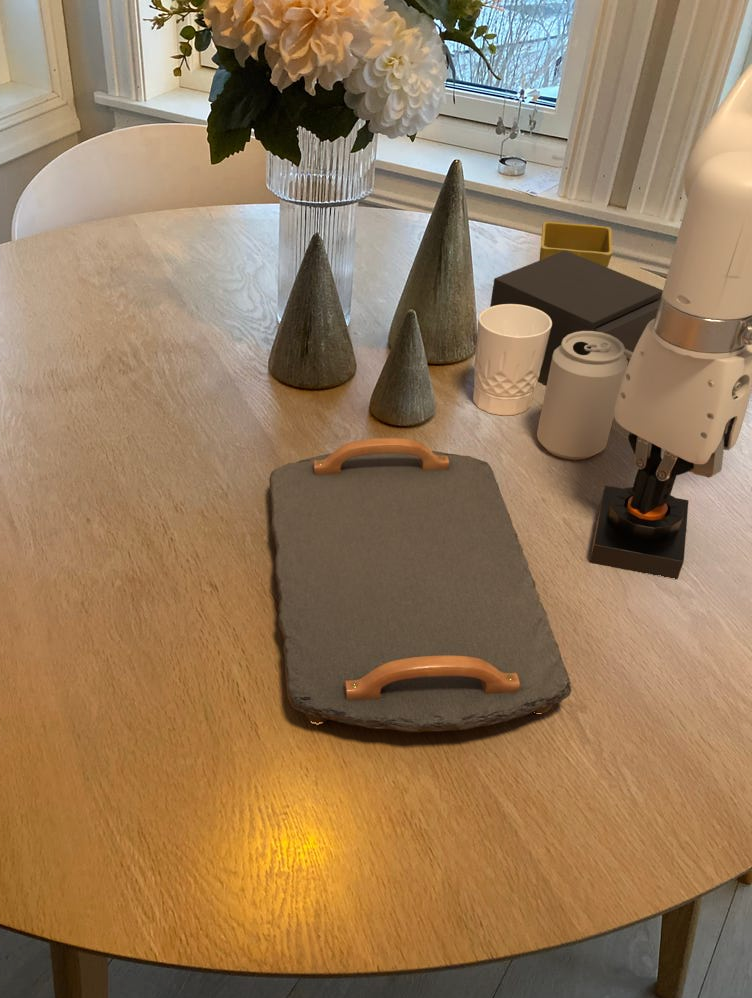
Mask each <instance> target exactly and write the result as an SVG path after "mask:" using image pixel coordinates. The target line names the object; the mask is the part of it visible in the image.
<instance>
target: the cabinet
mask: <svg viewBox="0 0 752 998" xmlns="http://www.w3.org/2000/svg"><path fill="white" fill-rule="evenodd" d="M662 292H663V289H661V288H659V287H656V286H654V285H651V284H649V283H646V282H644V281H641V280H639V279H637V278H634V277H632V276H630V275H626V274H624V273H622V272H619V271H617V270H614V269H612V268H609V267H605V266H602V265H600V264H597V263H595V262H592V261H590V260H587V259H585V258H582V257H580V256H577V255H575V254H573V253H570V252H568V251H562V252H560V253H557V254H555V255H552V256H550V257H547V258H545V259H542V260H540V261H539V260H537V261H534V262H532V263H529V264H527V265H524V266H522V267H519V268H517V269H515V270H512V271H509V272H506V273H504V274H502V275H500V276H497V277H494V279H493V286H492V292H491V299H490V306H489V307H492V306H496V305H502V304H519V305H525V306H530V307H533V308H536V309H539V310H541V311H543V312H544V313H546V314H547V315H548V316H549V317H550V318H551V320H552V327H551V331H550V335H549V339H548V343H547V347H546V351H545V356H544V360H543V364H542V367H541V370H540V375H539V379H538V382H539V383H541V384H542V385H544V386H547V381H548V376H549V371H550V366H551V361H552V356H553V353H554V350H555V349H557V348H558V347H559V346H560V345H561V343H562V340H563V338H565V337H566V336H567V335H569V334H571V333H574V332H579V331H595V329H596V327H598V326H600V325H602V324H604V323H607V322H609V321H611V320H613V319H615V318H618V317H620V316H622V315H624V314H626V313H628V312H631V311H633V310H635V309H637V308H639V307H642V306H643V307H645V306H647V305H649V304H651V303H653V302H656V301H658V300H660V299H661V296H662Z"/></svg>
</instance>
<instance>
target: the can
mask: <svg viewBox="0 0 752 998" xmlns="http://www.w3.org/2000/svg"><path fill="white" fill-rule="evenodd" d="M624 350H625V347H624V345H623V343H622V342H621V341H620V340H618V339H617V338H615V337H613V336H611V335H609V334H605V333H602V332H596V331H579V332H574V333H571V334H569V335H567V336H566V337H565V338H563V340H562V343H561V345H560V346H559V347H558V348H557V349H555V350H554V353H553V356H552V361H551V366H550V371H549V376H548V381H547V385H545V386H546V387H545V392H544V397H543V402H542V407H541V411H540V416H539V421H538V427H537V431H536V437H537V440H538V442H539V443H540V445H542V447H544V449H545V450H546V451H547V452H549V453H550V454H551V455H553V456H555V457H558V458H561V459H566V460H570V461H572V460H573V461H579V460H585V459H589V458H591V457H593V456H595V455H597V454H600V453H602V452H603V451H604V450H605V449H606V448H607V446H608V445H607V444H608V441H609V437H610V434H611V430H612V427H613V422H614V419H615V416H614V411H615V405H616V400H617V396H618V393H619V389H620V386H621V383H622V380H623V377H624V374H625V371H626V368H627V364H628V361H627V358H626V356H625V355H624Z"/></svg>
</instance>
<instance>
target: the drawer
mask: <svg viewBox="0 0 752 998" xmlns="http://www.w3.org/2000/svg"><path fill="white" fill-rule="evenodd" d="M659 303H660V300H658V301H656V302H653V303H651V304H649V305H647V306H645V307H643V306H642V307H639V308H637V309H635V310H633V311H631V312H628V313H626V314H624V315H622V316H620V317H618V318H615V319H613V320H611V321H609V322H607V323H604V324H602V325H600V326H598V327H596V329H595V331H596V332H602V333H605V334H609V335H611V336H613V337H615V338H617V339H618V340H620V341H621V342H622V343H623V345H624V347H625V350H624V355H625V356H626V358H627V361H628V364H629V361H630V358H631V356H632V354H633V352H634V349H635V347H636V345H637V343H638V341H639V339H640V337H641V335H642V333H643V331H644V330H645V328H646V326H647V324H648V323H649V322H650V321H651V320H653V319H655V318H656V314H657V310H658V307H659ZM628 364H627V366H628ZM626 369H627V368H626Z"/></svg>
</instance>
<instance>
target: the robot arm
mask: <svg viewBox="0 0 752 998" xmlns="http://www.w3.org/2000/svg"><path fill="white" fill-rule="evenodd" d="M683 188H684V193H685V196H686V199H687V201H686V205H685V209H684V212H683V216H682V219H681V223H680V226H679V230H678V233H677V238H676V241H675V245H674V248H673V252H672V256H671V259H670V264H669V267H668V270H667V274H666V279H665V282H664V284H663V289H662V290H663V292H662V296H661V299H660V303H659V307H658V310H657V314H656V318H655V319H653V320H651V321H650V322H649V323H648V324H647V326H646V328H645V330H644V331H643V333H642V335H641V337H640V339H639V341H638V343H637V345H636V347H635V349H634V352H633V354H632V356H631V358H630V361H629V364H628V366H627V369H626V371H625V374H624V377H623V380H622V383H621V386H620V389H619V393H618V396H617V400H616V405H615V411H614V419H613V422H612V427H613V429H614V430H615V431H617V432H618V433H619V434H620V435H621V436H622V437H624V438H625V439H626V440H628V442H629V445H630V447H631V449H632V452H633V454H634V460H633V465H634V467H635V468H636V469H637V472H636V475H635V477H634V478H635V479H634V482H633V485H632V487H633V488H632V492H634V494H633V497H632V501H631V504H630V506H631V507H633V508H635V509H636V508H639V509H640V512H642V513H644V514H646V513H648V512H650V511H651V510H653V509H655V508H656V507H658V506H659V507H660V506H662V505H664V504H665V503H666V502H667V501H668V499H669V497H670V495H672V491H673V488H674V483H675V481H676V478H677V476H680V475H684V474H686V473H691V474H693V475H697V476H701V477H704V478H713V477H714V476H715V475H717V474H719V473H720V472H721V471H722V469H723V458H724V451H730V450H731V449H732V448H734V446H735V445H736V442H737V441H738V438H739V436H740V434H741V430H742V427H743V424H744V419H745V417H746V414H747V409H748V405H749V401H750V397H751V392H752V63H750V64H749V65H748V67H747V68H745V70H744V71H743V72H742V74H741V75H740V76H739V77H738V78H737V81H736V82H735V83H734V85H733V86H732V87H731V89H730V90H729V92H727V94H726V95H725V98H724V99H723V100H722V102H721V103H720V104H719V106H718V108H717V109H715V112H714V113H713V115H712V116H711V118H710V119H709V120H708V122H707V124H706V126H705V127H704V129H703V130H702V132H701V134H700V135H699V137H698V139H697V141H696V142H695V144H694V147H693V148H692V151H691V153H690V155H689V158H688V160H687V164H686V167H685V171H684V178H683Z"/></svg>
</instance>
